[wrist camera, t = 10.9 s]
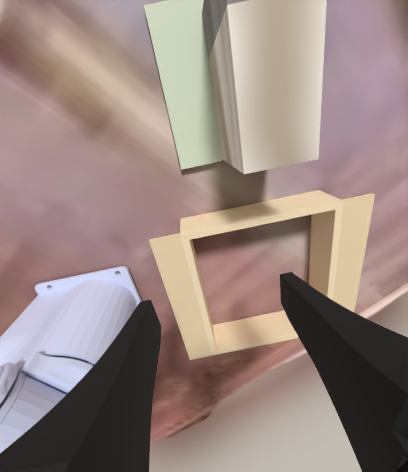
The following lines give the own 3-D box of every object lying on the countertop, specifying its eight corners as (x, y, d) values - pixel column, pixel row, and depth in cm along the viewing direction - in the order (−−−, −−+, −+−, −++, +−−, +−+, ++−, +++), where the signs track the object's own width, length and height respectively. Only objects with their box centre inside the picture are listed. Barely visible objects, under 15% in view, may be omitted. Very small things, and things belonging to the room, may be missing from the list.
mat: (181, 168, 18) (181, 169, 18) (145, 9, 14) (143, 5, 13) (308, 142, 18) (311, 142, 18) (314, -27, 14) (318, -32, 13)
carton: (189, 333, 27) (190, 359, 24) (154, 224, 20) (149, 241, 17) (331, 304, 27) (351, 327, 24) (344, 184, 20) (375, 194, 17)
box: (222, 159, 18) (244, 174, 11) (201, 12, 14) (217, -91, 7) (270, 149, 18) (318, 158, 11) (263, -1, 14) (332, -116, 7)
